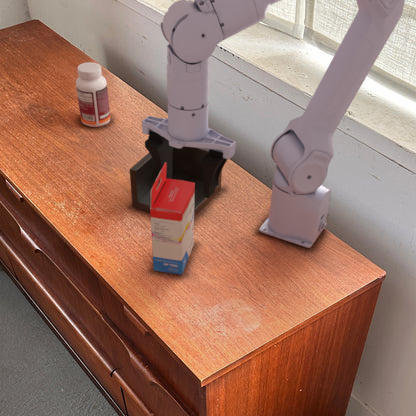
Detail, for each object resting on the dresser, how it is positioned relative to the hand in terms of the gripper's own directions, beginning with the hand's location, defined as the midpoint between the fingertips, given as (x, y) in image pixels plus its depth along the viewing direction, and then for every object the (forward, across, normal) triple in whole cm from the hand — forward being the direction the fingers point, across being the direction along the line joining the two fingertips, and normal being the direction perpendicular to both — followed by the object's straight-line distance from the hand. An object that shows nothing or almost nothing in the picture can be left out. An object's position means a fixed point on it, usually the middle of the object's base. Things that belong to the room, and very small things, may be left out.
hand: (187, 187), depth 97 cm
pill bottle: (+11, -37, +26) cm, 47 cm away
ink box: (+11, 0, -5) cm, 12 cm away
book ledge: (+10, -8, +10) cm, 17 cm away
